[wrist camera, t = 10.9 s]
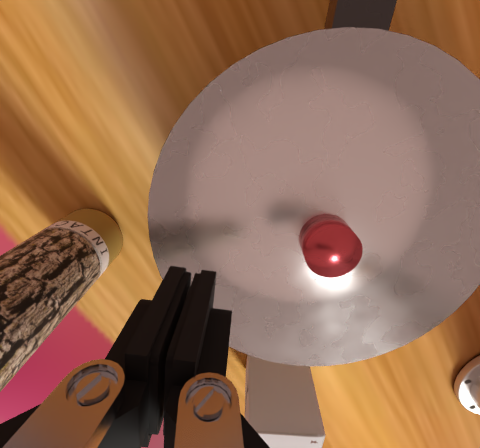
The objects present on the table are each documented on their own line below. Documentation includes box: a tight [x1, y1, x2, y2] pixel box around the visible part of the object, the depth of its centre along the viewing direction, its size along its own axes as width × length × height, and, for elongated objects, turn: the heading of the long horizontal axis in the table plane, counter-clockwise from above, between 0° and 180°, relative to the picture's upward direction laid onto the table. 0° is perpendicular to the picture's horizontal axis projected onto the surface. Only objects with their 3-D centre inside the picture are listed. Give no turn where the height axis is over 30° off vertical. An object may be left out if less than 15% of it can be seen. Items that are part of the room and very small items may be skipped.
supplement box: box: [245, 355, 325, 448], centre depth 33 cm, size 7×7×13 cm
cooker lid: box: [148, 27, 480, 366], centre depth 17 cm, size 21×21×4 cm
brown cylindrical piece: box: [0, 209, 123, 391], centre depth 21 cm, size 7×7×25 cm
